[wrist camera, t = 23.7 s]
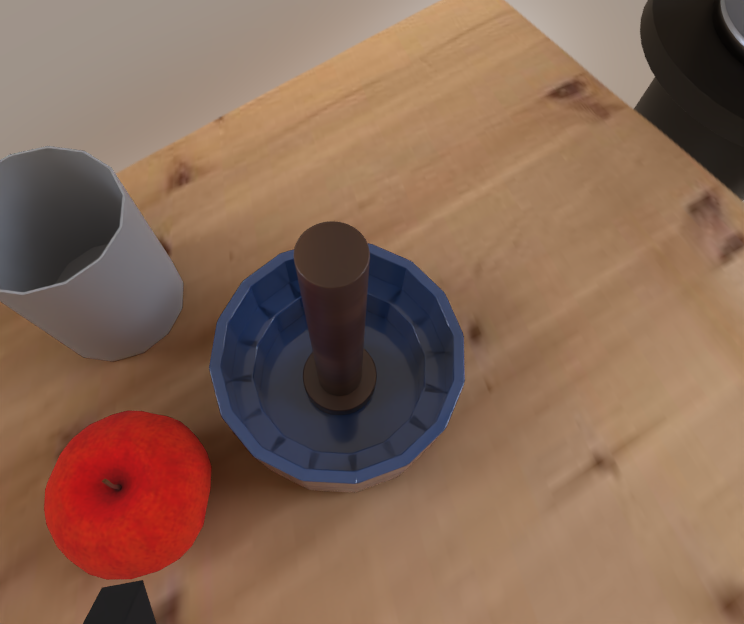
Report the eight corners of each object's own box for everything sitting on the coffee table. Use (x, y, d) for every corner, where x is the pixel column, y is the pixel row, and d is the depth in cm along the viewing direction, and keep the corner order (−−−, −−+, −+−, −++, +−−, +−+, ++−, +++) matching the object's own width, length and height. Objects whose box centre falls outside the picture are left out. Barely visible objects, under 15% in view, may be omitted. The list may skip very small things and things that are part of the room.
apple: (241, 546, 30) (209, 549, 23) (94, 596, 29) (14, 615, 22) (213, 410, 33) (176, 376, 26) (78, 450, 31) (3, 426, 25)
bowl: (401, 263, 37) (410, 215, 31) (479, 447, 32) (506, 428, 27) (212, 320, 35) (186, 280, 29) (266, 526, 30) (248, 524, 25)
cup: (136, 223, 37) (66, 120, 28) (209, 301, 35) (159, 218, 26) (27, 298, 35) (-89, 212, 26) (98, 387, 33) (0, 329, 24)
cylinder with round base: (361, 337, 34) (370, 185, 19) (385, 401, 33) (415, 289, 18) (295, 358, 33) (252, 218, 19) (316, 425, 32) (287, 330, 17)
